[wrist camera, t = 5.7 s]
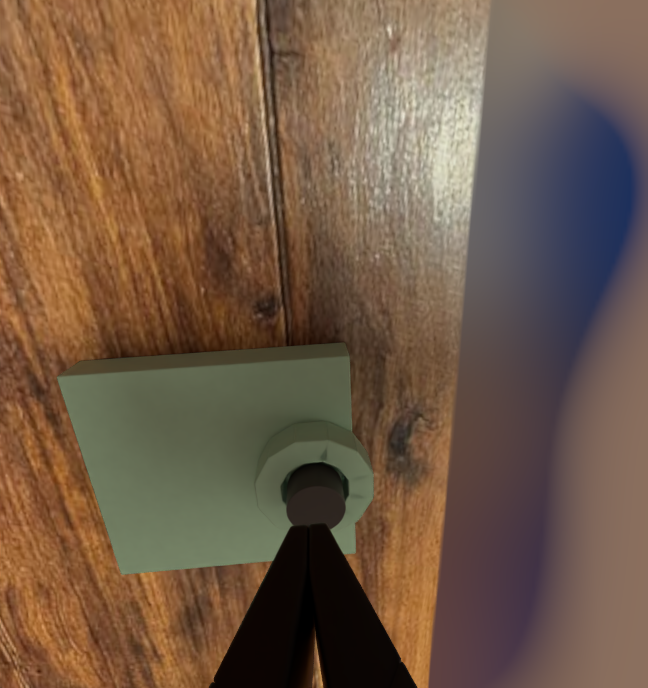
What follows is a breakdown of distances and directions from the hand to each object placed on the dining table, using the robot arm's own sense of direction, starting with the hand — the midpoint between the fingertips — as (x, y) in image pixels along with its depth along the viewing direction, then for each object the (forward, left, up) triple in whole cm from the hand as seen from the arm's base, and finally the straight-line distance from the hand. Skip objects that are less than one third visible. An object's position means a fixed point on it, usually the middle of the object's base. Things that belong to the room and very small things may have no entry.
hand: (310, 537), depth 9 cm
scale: (+4, +5, -11) cm, 13 cm away
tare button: (0, +5, -8) cm, 9 cm away
